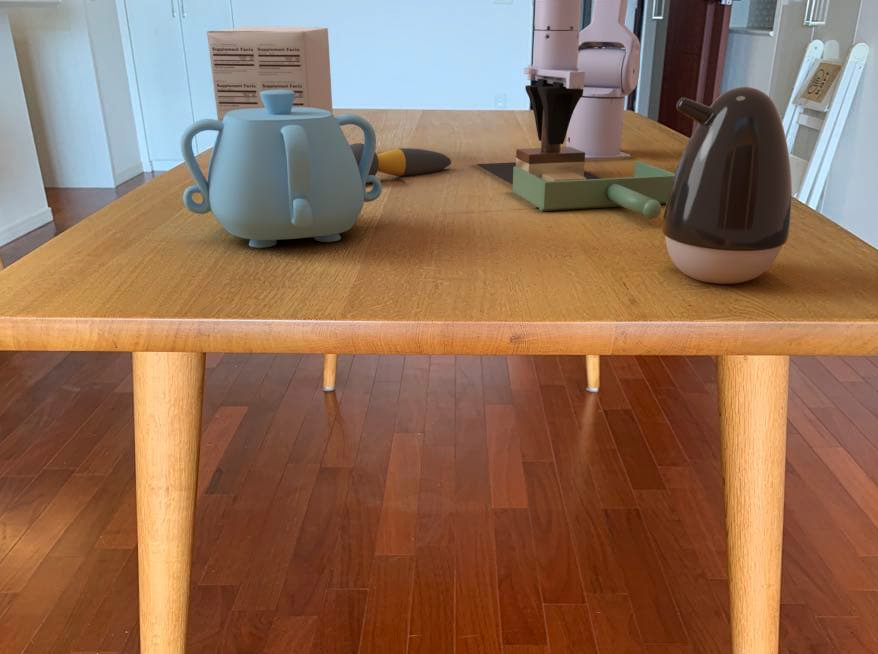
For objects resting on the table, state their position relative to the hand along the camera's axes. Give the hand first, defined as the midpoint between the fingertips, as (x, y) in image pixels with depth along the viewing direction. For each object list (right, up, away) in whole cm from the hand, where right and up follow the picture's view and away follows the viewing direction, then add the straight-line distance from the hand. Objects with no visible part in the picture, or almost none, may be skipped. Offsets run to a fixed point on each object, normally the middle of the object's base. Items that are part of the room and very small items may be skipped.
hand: (550, 142), depth 108 cm
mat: (-1, -3, +4) cm, 5 cm away
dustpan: (+5, -12, -15) cm, 20 cm away
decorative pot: (-29, -18, -26) cm, 43 cm away
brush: (0, -4, +2) cm, 4 cm away
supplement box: (-38, +1, +12) cm, 40 cm away
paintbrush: (-22, -5, +1) cm, 22 cm away
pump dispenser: (+10, -24, -38) cm, 46 cm away
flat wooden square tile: (+1, -6, -2) cm, 6 cm away
